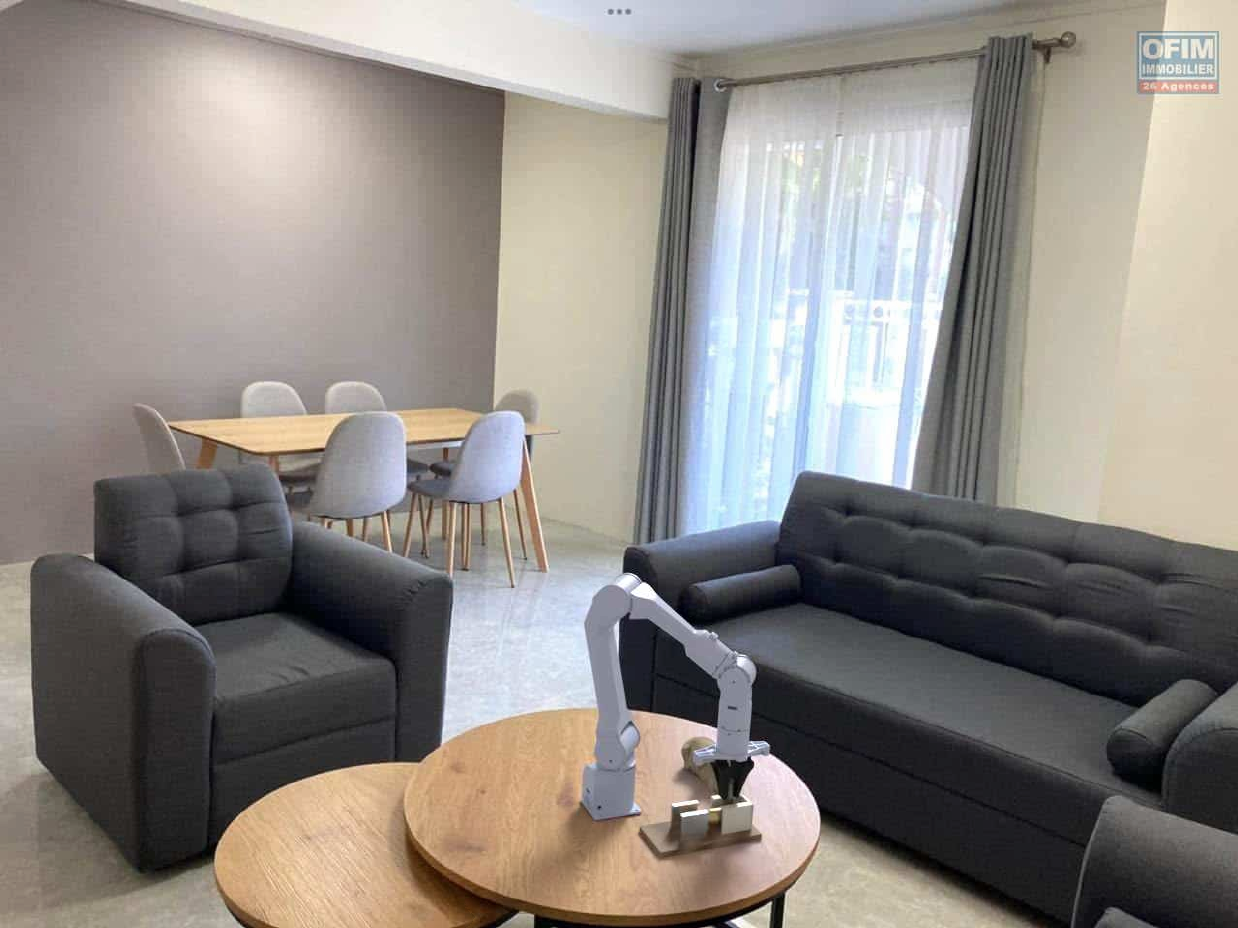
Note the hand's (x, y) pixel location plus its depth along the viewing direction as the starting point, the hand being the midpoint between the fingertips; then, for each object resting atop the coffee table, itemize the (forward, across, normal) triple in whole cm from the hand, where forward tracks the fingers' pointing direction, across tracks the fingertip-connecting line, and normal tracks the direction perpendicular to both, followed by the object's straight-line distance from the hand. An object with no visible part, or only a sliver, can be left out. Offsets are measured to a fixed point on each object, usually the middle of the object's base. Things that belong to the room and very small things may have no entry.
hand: (728, 796), depth 179 cm
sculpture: (+7, +6, +18) cm, 20 cm away
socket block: (+7, +1, 0) cm, 7 cm away
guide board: (+7, -5, 0) cm, 8 cm away
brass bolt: (+5, -2, 0) cm, 5 cm away
